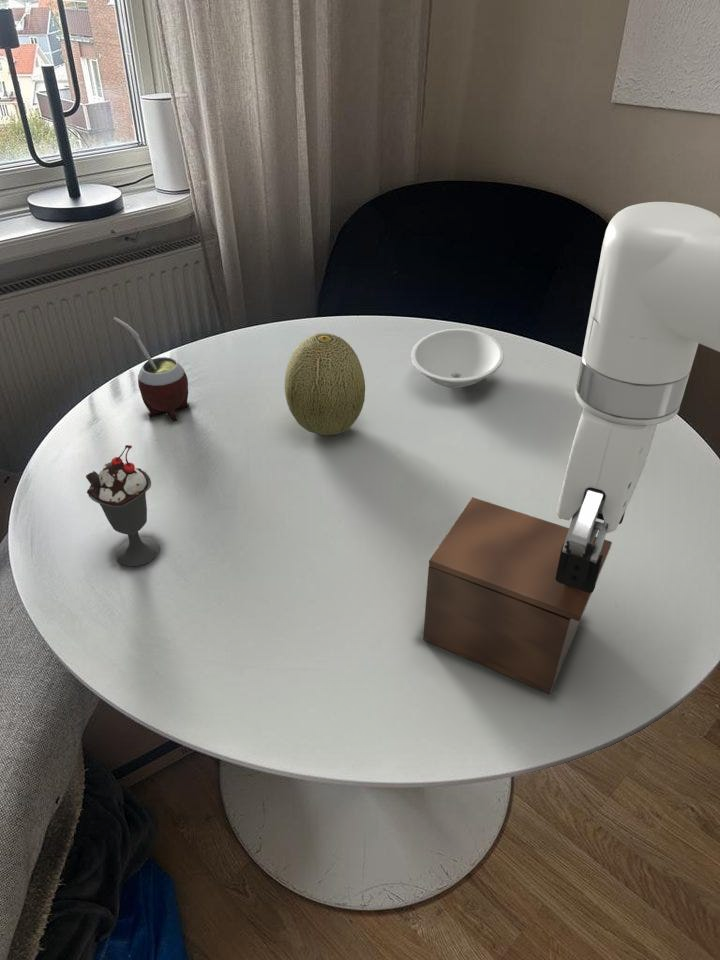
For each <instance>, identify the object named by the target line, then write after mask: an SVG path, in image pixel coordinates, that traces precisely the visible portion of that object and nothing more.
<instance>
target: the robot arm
mask: <svg viewBox="0 0 720 960" xmlns="http://www.w3.org/2000/svg"><path fill="white" fill-rule="evenodd" d="M595 277H596V278H595V282H594V288H593V294H592V299H591V306H590V310H589V316H588V321H587V327H586V331H585V338H584V344H583V348H582V354H581V359H580V366H579V368H578V369H579V370H578V376H577V381H576V386H575V390H574V397H575V399H576V401H577V403H578V404H579V405H580V406H581V408H583V409H582V412H581V414H580V417H579V421H578V424H577V427H576V430H575V434H574V437H573V441H572V445H571V448H570V453H569V456H568V460H567V465H566V469H565V473H564V478H563V481H562V486H561V490H560V495H559V498H558V502H557V506H556V510H555V512H556V516H557V517H558V519H560V520H565V521H570V520H571V521H570V524H569V527H568V528H569V530H568V533H567V536H566V539H565V542H564V543H563V546H562V549H561V553H560V558H559V563H558V568H557V573H556V581H557V582H559V583H561V584H564V585H567V586H570V587H573V588H576V589H578V590H581V591H584V592H587V593H592V594H593V593H594V590H595V589H596V585H597V582H598V579H599V577H598V574H599V570H600V566H601V562H602V558H603V556H602V555H600V552H601V548H602V545H603V542H604V540H606V535H607V534H609V533H612V532H615V531H616V530H617V529H618V527H619V525H621V524H623V521H624V518H625V517H624V516H625V514H626V510H627V508H628V505H629V504H630V501H631V499H632V497H633V494H634V491H635V490H636V488H637V486H638V483H639V481H640V478H641V476H642V473H643V471H644V468H645V465H646V463H647V458H648V456H649V453H650V450H651V446H652V443H653V440H654V436H655V432H656V429H657V427H658V425H660V424H663V423H666V422H668V421H670V420H671V419H673V418H674V417H675V416H677V414H678V413H679V411H680V408H681V404H682V401H683V398H684V395H685V391H686V387H687V384H688V382H689V381H688V380H689V377H690V375H691V371H692V367H693V364H694V360H695V357H696V354H697V350H698V347H699V345H702V346H704V347H706V348H710V349H711V350H714V351H716V352H718V353H720V216H719V215H718V214H716V213H715V212H713V211H711V210H708V209H705V208H703V207H701V206H696V205H692V204H688V203H682V202H671V201H650V202H649V201H647V202H642V203H636V204H632V205H629V206H627V207H625V208H622V209H621V210H619V211H618V212H617V213H615V215H613V217H612V218H611V219H610V221H609V223H608V225H607V227H606V229H605V232H604V236H603V241H602V245H601V251H600V257H599V263H598V266H597V273H596V276H595ZM597 520H600V521H597ZM601 521H603V522H601ZM593 528H594V529H597V530H598V532H597V534H596V537H597V538H596V541H595V544H594V547H593V545H592V544H589V541H590V535H591V532H592V529H593ZM597 578H598V579H597Z"/></svg>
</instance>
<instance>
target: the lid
mask: <svg viewBox="0 0 720 960" xmlns="http://www.w3.org/2000/svg"><path fill="white" fill-rule="evenodd" d="M568 530H569V527H567V526H563V525H561V524H557V523H554V522H550V521H549V520H545V519H542V518H539V517H536V516H533V515H529V514H526V513H523V512H520V511H516V510H514V509H511V508H507V507H505V506H502V505H498V504H495V503H492V502H489V501H485V500H482V499H479V498H476V497H471V498H470V500H469V501H468V502H467V504H466V505H465V506H464V509H463V510H462V512H461V513H460V514H459V516H458V518H456V520H455V521H454V523H453V524H452V526H451V528H450V529H449V531H448V532H447V533H446V534H445V536H444V537H443V539H442V541H441V542H440V544H439V545H438V547H437V548H436V549H435V550H434V552H433V553H432V555H431V556H430V557H429V559H428V567H429V566H431V567H433V568H436V569H439V570H441V571H444V572H447V573H449V574H452V575H455V576H457V577H460V578H463V579H466V580H468V581H471V582H474V583H476V584H479V585H482V586H484V587H487V588H490V589H492V590H495V591H498V592H501V593H503V594H506V595H509V596H511V597H514V598H517V599H519V600H522V601H525V602H527V603H530V604H533V605H536V606H538V607H541V608H544V609H546V610H549V611H552V612H554V613H557V614H560V615H562V616H565V617H568V618H571V619H573V620H576V621H579V622H580V623H581V622H582V619H583V615H584V613H585V611H586V608H587V606H588V604H589V601H590V599H591V597H592V594H593V592H592V593H587V592H584V591H581V590H578V589H576V588H573V587H570V586H567V585H564V584H561V583H559V582H557V581H556V573H557V568H558V563H559V558H560V553H561V549H562V546H563V543H564V542H565V539H566V536H567V533H568ZM598 532H599V530H597V529H594V528H593V529H592V532H591V535H590V541H589V544H592V545H593V547H594V544H595V541H596V538H597V535H598ZM612 544H613V542H612V541H610V540H607V539H604V542H603V545H602V548H601V552H600V555H602V556H603V558H602V562H601V566H600V570H599V574H598V578H597V580H598V579H599V577H600V574H601V572H602V570H603V567H604V565H605V562H606V560H607V558H608V555H609V553H610V551H611V548H612Z"/></svg>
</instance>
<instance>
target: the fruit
mask: <svg viewBox="0 0 720 960" xmlns="http://www.w3.org/2000/svg"><path fill="white" fill-rule="evenodd" d="M286 365H287V366H286V368H285V374H284V396H285V400H286V404H287V407H288V410H289V411H290V414H291V415H292V416H293V418H294V420H295V421H296V422H297V423H298V425H299V426H301V428H303V429H304V430H306V431H307V432H310V433H313V434H316V435H320V436H335V435H338V434H342V433H345V432H346V431H347V430H349V429H351V427H352V426H353V425H354V423H355V422H356V421H357V420H358V418H359V416H360V415H361V412H362V411H363V407H364V404H365V398H366V381H365V375H364V371H363V367H362V364H361V361H360V359H359V357H358V354H357V353H356V352H355V350H354V348H352V346H351V345H350V344H349V343H348V342H347V340H345V339H343V338H342V337H340V336H338V335H335V334H332V333H328V332H318V333H315V334H312V335H310V336H307V337H306V338H305V339H303V340H302V341H301V342H300V343H299V344H298V345H297V346H296V348H294V350H293V352H292V354H291V355H290V357H289V360H288V361H287V364H286Z"/></svg>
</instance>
